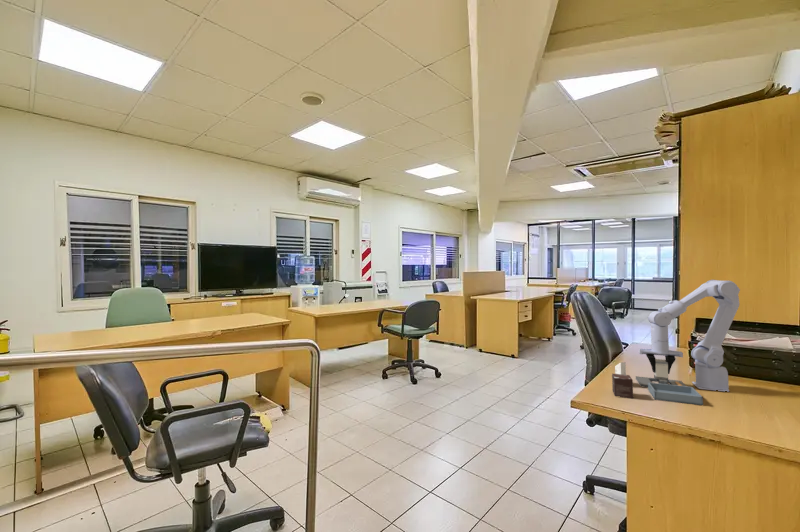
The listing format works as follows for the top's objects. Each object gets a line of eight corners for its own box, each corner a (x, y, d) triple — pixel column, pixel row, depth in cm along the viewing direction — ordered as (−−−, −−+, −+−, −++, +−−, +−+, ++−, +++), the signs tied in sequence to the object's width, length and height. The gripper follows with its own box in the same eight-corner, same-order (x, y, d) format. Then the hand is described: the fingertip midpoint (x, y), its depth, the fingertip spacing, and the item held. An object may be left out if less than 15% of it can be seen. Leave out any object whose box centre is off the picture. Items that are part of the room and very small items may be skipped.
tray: (692, 394, 129) (692, 386, 129) (703, 405, 119) (702, 397, 119) (648, 389, 135) (647, 382, 135) (654, 399, 125) (654, 391, 125)
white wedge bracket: (626, 383, 136) (620, 362, 140) (617, 388, 144) (612, 368, 148) (636, 384, 135) (630, 362, 139) (626, 389, 143) (621, 368, 148)
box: (630, 393, 132) (629, 374, 132) (633, 399, 127) (633, 379, 127) (612, 391, 135) (611, 373, 135) (614, 396, 129) (614, 377, 129)
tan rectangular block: (665, 378, 141) (665, 359, 141) (668, 381, 138) (667, 362, 138) (654, 377, 143) (653, 358, 143) (656, 380, 139) (655, 361, 139)
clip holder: (681, 383, 142) (681, 376, 142) (689, 392, 132) (689, 384, 132) (635, 378, 149) (635, 371, 149) (640, 386, 139) (640, 379, 139)
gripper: (678, 339, 141) (679, 371, 141) (637, 337, 147) (638, 368, 147) (684, 343, 134) (685, 376, 134) (640, 340, 141) (641, 372, 141)
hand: (660, 372), depth 140 cm, fingers closed on tan rectangular block, 4 cm apart
